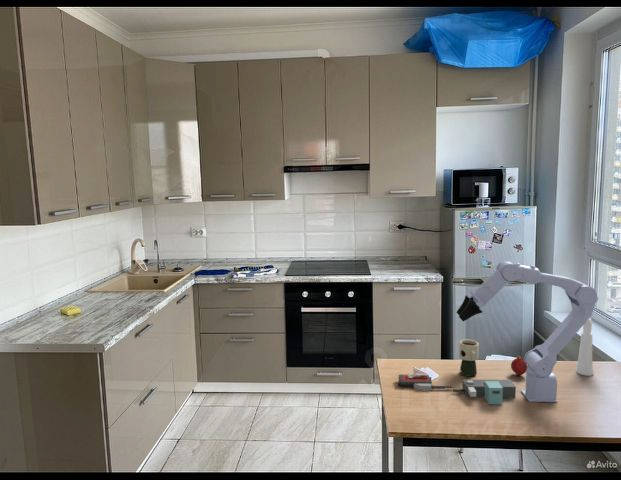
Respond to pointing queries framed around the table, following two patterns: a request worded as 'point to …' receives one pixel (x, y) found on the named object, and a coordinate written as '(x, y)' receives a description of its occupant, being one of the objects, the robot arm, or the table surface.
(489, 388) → the charger
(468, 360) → the character mug
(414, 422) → the table surface
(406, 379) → the walkie-talkie
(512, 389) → the power strip
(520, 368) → the onion
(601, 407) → the table surface
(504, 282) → the robot arm
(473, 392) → the block
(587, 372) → the cosmetic bottle
